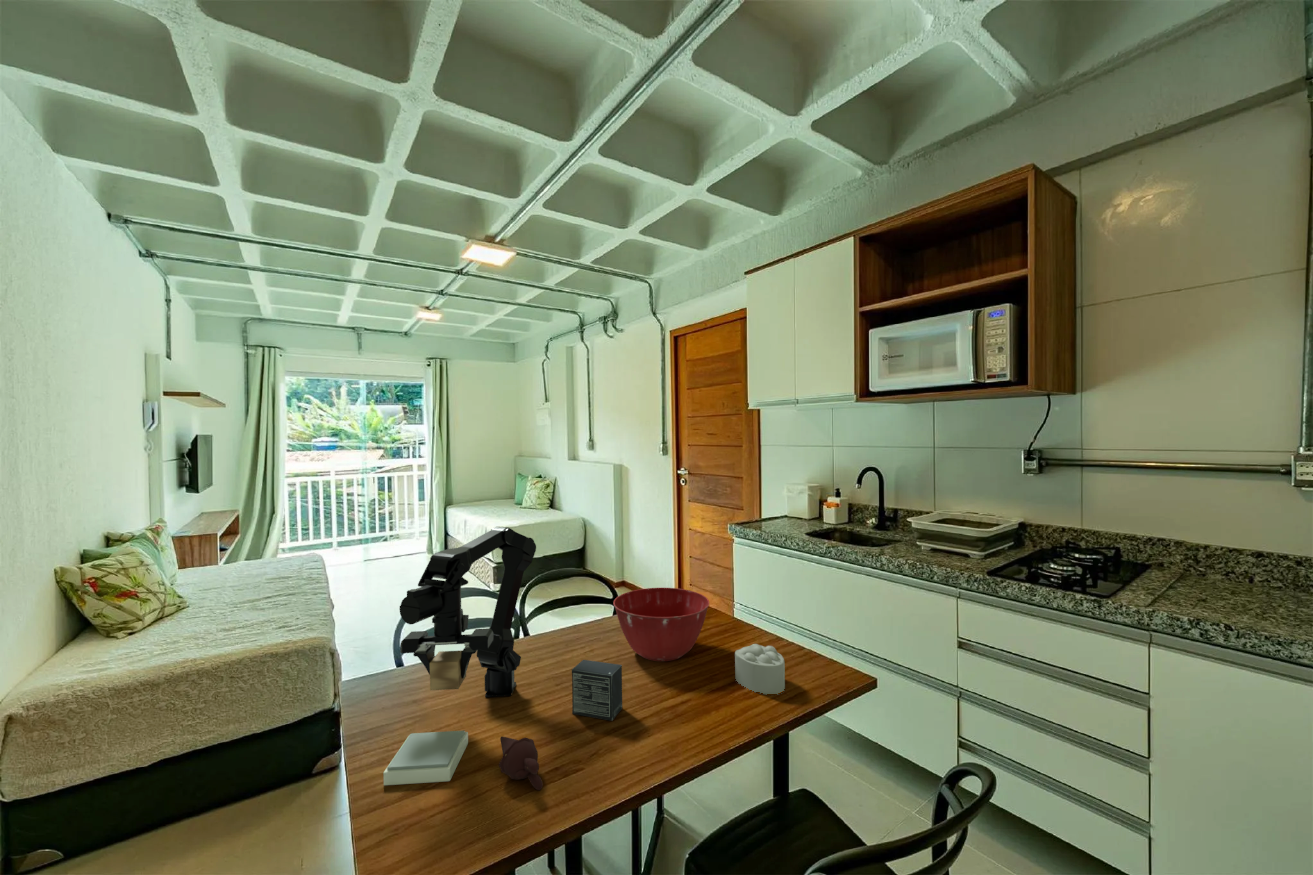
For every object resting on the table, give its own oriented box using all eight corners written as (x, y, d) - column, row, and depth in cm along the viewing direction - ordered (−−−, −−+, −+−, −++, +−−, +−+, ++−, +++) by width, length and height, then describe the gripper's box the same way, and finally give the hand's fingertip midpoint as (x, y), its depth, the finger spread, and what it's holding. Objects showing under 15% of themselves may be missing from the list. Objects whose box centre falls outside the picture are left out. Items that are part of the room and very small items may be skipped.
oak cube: (466, 676, 118) (465, 650, 118) (458, 688, 112) (457, 661, 112) (439, 677, 118) (439, 651, 118) (430, 690, 112) (429, 662, 112)
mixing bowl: (651, 627, 173) (651, 581, 173) (727, 646, 156) (726, 595, 156) (594, 657, 150) (593, 604, 150) (675, 683, 133) (674, 624, 133)
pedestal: (468, 742, 109) (467, 728, 109) (449, 781, 97) (449, 765, 97) (409, 746, 108) (409, 732, 108) (383, 785, 96) (383, 769, 96)
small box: (623, 707, 122) (623, 663, 122) (612, 722, 116) (612, 675, 116) (584, 700, 126) (583, 657, 126) (571, 714, 119) (570, 669, 119)
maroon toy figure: (480, 734, 101) (516, 778, 90) (514, 711, 105) (552, 750, 94) (488, 763, 102) (524, 809, 91) (521, 739, 107) (559, 781, 96)
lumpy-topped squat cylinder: (758, 668, 141) (757, 637, 141) (795, 687, 131) (794, 653, 131) (730, 679, 136) (729, 646, 136) (766, 699, 125) (765, 664, 125)
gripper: (498, 596, 124) (499, 660, 124) (418, 599, 122) (419, 664, 122) (486, 612, 113) (487, 682, 113) (398, 615, 111) (399, 687, 111)
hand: (448, 678), depth 115 cm, fingers closed on oak cube, 6 cm apart
